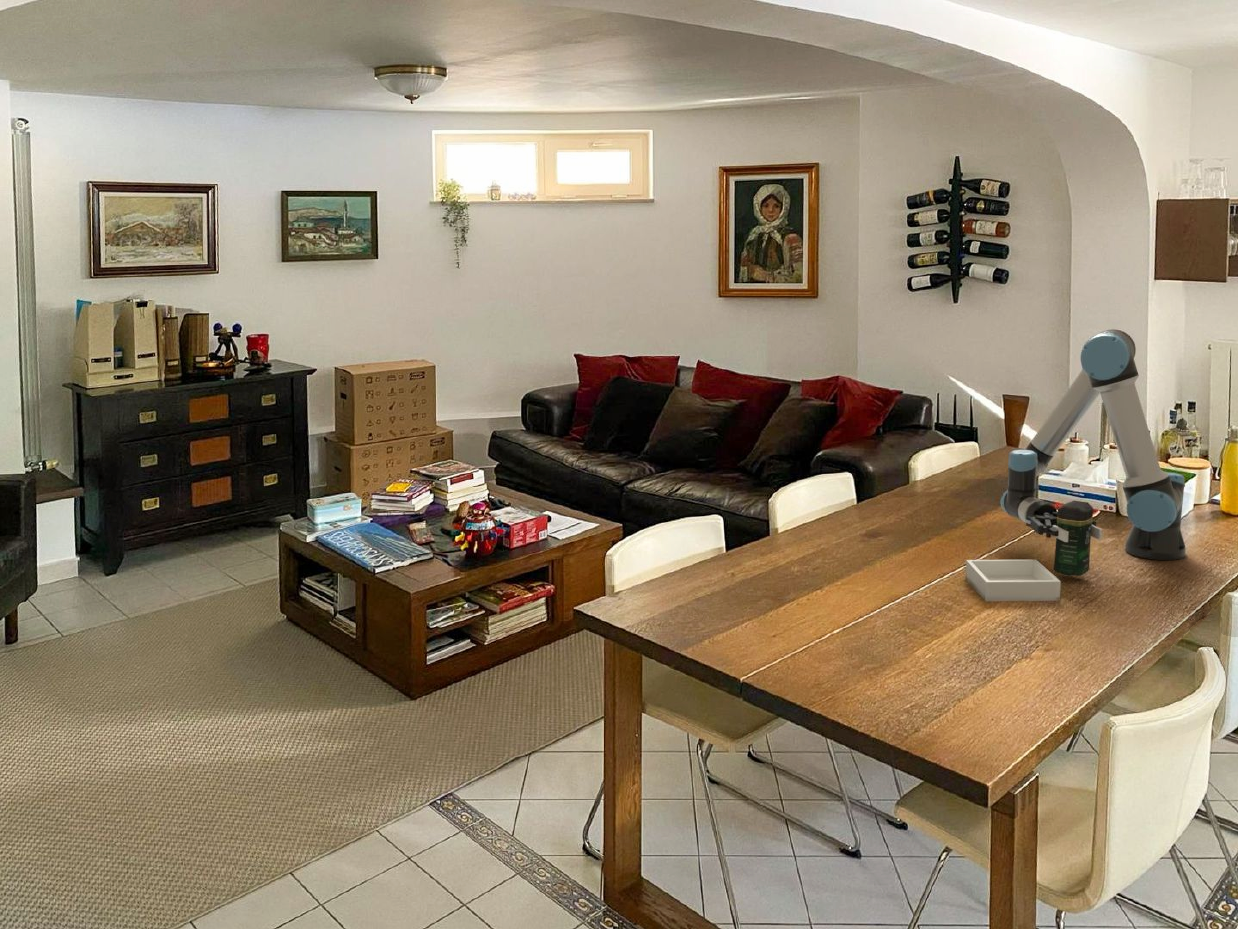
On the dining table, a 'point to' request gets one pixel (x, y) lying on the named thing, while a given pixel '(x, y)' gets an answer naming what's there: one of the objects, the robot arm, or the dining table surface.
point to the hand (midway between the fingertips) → (1083, 535)
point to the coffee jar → (1074, 538)
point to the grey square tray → (1012, 580)
